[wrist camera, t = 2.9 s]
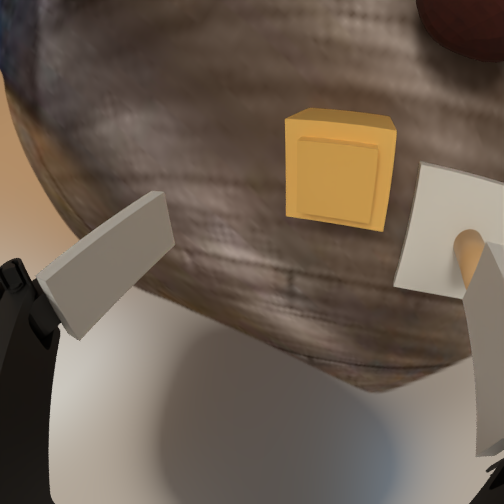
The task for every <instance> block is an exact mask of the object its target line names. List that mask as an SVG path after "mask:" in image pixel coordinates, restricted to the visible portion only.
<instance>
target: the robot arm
mask: <svg viewBox="0 0 504 504" xmlns="http://www.w3.org/2000/svg"><path fill="white" fill-rule="evenodd" d="M174 245H175V242H174V237H173V232H172V228H171V223H170V218H169V213H168V208H167V203H166V198H165V192H160V191H151V192H149V193H148V194H146V195H144V196H143V197H141V198H140V199H138V200H137V201H135V202H134V203H132V204H131V205H129V206H128V207H126V208H125V209H123V210H122V211H120V212H119V213H117V214H116V215H114V216H113V217H111V218H110V219H109V220H107V221H106V222H104V223H103V224H102V225H100V226H99V227H97V228H96V229H95V230H93V231H92V232H90V233H89V234H88V235H86V236H85V237H84V238H82V239H81V240H80V241H78V242H77V243H76V244H74V245H73V246H72V247H70V248H69V249H68V250H67V251H65V252H64V253H63V254H61V255H60V256H59V257H58V258H56V259H55V260H54V261H53V262H52V263H50V264H49V265H48V266H47V267H46V268H44V269H43V270H42V271H41V272H39V273H38V274H37V275H36V279H34V280H33V281H31V279H30V277H29V275H28V273H27V271H26V269H25V267H24V265H23V263H22V260H21V259H20V258H14V259H12V260H9V261H7V262H6V263H4V264H3V265H2V266H1V267H0V504H55V503H54V502H53V501H52V498H51V495H50V485H49V459H48V458H49V457H48V447H49V418H50V405H51V393H52V384H53V376H54V369H55V362H56V356H57V350H58V344H59V339H60V330H59V328H58V325H59V324H60V323H62V325H63V326H64V328H65V329H66V331H67V333H68V334H70V335H71V336H73V337H74V338H76V339H77V340H79V341H80V340H81V338H83V337H84V335H85V334H86V333H87V332H88V331H89V330H90V329H91V328H92V327H93V326H94V325H95V324H96V323H97V322H98V321H99V320H100V319H101V317H102V316H103V315H104V314H105V313H106V312H107V311H108V310H109V309H110V308H111V307H112V306H113V305H114V304H115V303H116V302H117V301H118V300H119V299H120V298H121V297H122V296H123V295H124V294H125V293H126V292H127V291H128V290H129V289H130V288H131V287H132V286H133V285H134V284H135V283H136V282H137V281H138V280H139V279H140V278H141V277H142V276H143V275H144V274H145V273H146V272H147V271H148V270H149V269H150V268H151V267H152V266H153V265H154V264H155V263H157V262H158V261H159V260H160V259H161V258H162V257H163V256H164V255H165V254H166V253H167V252H168V251H169V250H170V249H171V248H172V247H173V246H174ZM462 300H463V305H464V309H465V314H466V319H467V325H468V330H469V336H470V343H471V350H472V358H473V366H474V376H475V389H476V408H477V409H476V410H477V438H476V440H477V441H476V457H480V456H494V455H497V454H498V453H500V452H501V451H502V450H504V248H503V246H502V245H500V244H496V243H492V242H488V241H486V243H485V246H484V249H483V252H482V254H481V257H480V260H479V262H478V265H477V267H476V270H475V272H474V274H473V277H472V279H471V281H470V284H469V286H468V288H467V290H466V293H465V295H464V297H463V299H462ZM495 468H496V469H495ZM493 469H495V471H494V472H493V474H491V475H490V478H489V479H488V480H487V482H486V483H485V485H484V486H483V487H482V488H481V490H480V491H479V493H478V494H477V495H476V496H475V497H474V499H473V500H472V501H471V502H470V503H469V504H504V458H503V459H501V460H500V461H498V462H496V463H495V464H493V465H491V466H490V467H489V468H488V469H487V470H486V472H489V471H491V470H493Z"/></svg>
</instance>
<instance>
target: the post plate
mask: <svg viewBox="0 0 504 504" xmlns="http://www.w3.org/2000/svg"><path fill="white" fill-rule="evenodd" d="M486 241H488V242H492V243H496V244H500V245H502V246H503V248H504V183H503V182H499V181H496V180H493V179H490V178H486V177H483V176H479V175H476V174H472V173H468V172H464V171H460V170H456V169H452V168H448V167H444V166H440V165H435V164H431V163H426V162H421V161H419V167H418V174H417V180H416V186H415V192H414V197H413V202H412V207H411V212H410V217H409V222H408V226H407V231H406V235H405V239H404V243H403V247H402V251H401V255H400V259H399V262H398V266H397V270H396V273H395V277H394V280H393V286H394V287H399V288H404V289H410V290H415V291H421V292H426V293H432V294H437V295H443V296H448V297H454V298H460V299H463V297H464V295H465V293H466V290H467V288H468V286H469V284H470V281H471V279H472V277H473V274H474V272H475V270H476V267H477V265H478V262H479V260H480V257H481V254H482V252H483V249H484V246H485V243H486Z"/></svg>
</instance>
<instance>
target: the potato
mask: <svg viewBox="0 0 504 504" xmlns="http://www.w3.org/2000/svg"><path fill="white" fill-rule="evenodd" d="M416 5H417V8H418V11H419V15H420V18H421V20H422V22H423V24H424V26H425V29H426V31H427V32H428V33H429V34H430V36H431V37H432V38H433V40H435V41H436V42H437V43H439V44H440V45H441V46H443V47H445V48H447V49H449V50H451V51H453V52H455V53H458V54H460V55H463V56H465V57H468V58H471V59H475V60H479V61H482V62H500V61H504V0H416Z"/></svg>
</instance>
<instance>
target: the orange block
mask: <svg viewBox="0 0 504 504" xmlns="http://www.w3.org/2000/svg"><path fill="white" fill-rule="evenodd" d="M396 134H397V130H396V128H395V126H394V124H393V122H392V120H391V118H390V116H384V115H377V114H370V113H362V112H354V111H345V110H334V109H322V108H308V109H305V110H303V111H301V112H299V113H297V114H294V115H292V116H290V117H288V118H286V119H285V141H286V216H289V217H296V218H302V219H309V220H316V221H322V222H328V223H334V224H341V225H347V226H352V227H358V228H364V229H370V230H375V231H381V232H383V229H384V223H385V218H386V212H387V206H388V200H389V193H390V187H391V179H392V172H393V164H394V155H395V145H396Z"/></svg>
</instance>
